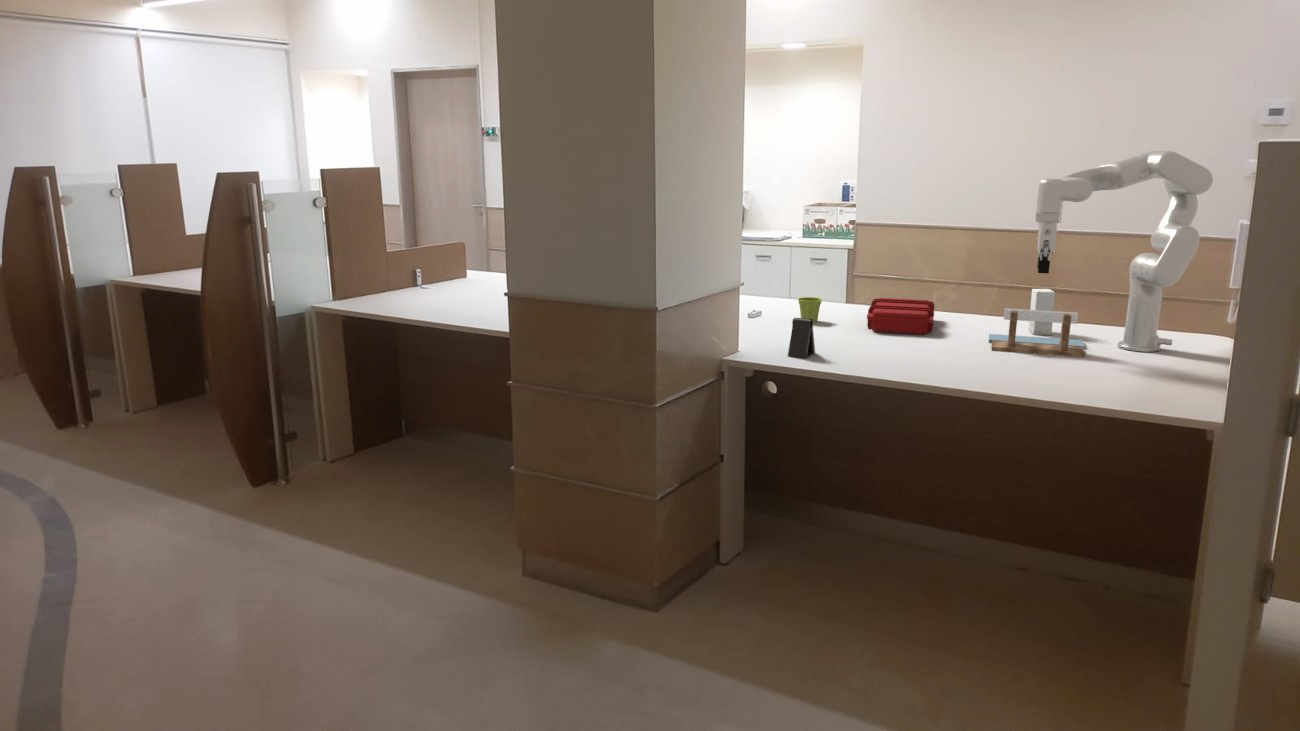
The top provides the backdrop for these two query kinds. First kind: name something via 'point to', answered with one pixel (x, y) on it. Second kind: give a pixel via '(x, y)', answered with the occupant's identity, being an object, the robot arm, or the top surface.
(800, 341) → the phone stand
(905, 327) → the first aid kit
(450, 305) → the top surface
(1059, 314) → the aluminium rail
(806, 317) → the plant pot
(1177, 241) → the robot arm
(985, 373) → the top surface
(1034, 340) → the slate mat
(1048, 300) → the skincare box
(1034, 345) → the cradle stand
